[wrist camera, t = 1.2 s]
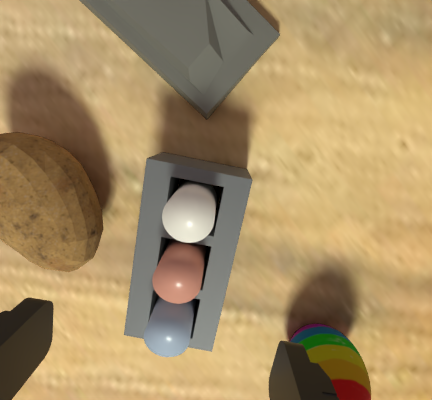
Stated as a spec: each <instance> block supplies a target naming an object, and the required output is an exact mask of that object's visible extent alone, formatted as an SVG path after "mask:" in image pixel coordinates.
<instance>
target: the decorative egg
mask: <svg viewBox="0 0 432 400" xmlns="http://www.w3.org/2000/svg"><path fill="white" fill-rule="evenodd" d="M290 342H293V343H299V344H303V345H304V347H305V349H306V352H307V354H308V357H309V360H310V362H312V363H318V364H319V365H320V367H321V368H322V369H323V370H324V371H325V373H326V374H327V375H328V376H329V377H330V379H331V382H332V384H333V386H334V388H335V391H336V393H337V397H338V398H339V400H371V387H370V381H369V376H368V373H367V370H366V367H365V364H364V362H363V360H362V358H361V356H360V354H359V352H358V351H357V349H356V348H355V346H354V345H353V344H352V343H351V342H350V340H349V339H348V338H347V337H346V336H344V335H343V334H342V333H341V332H339V331H338V330H336V329H334V328H332V327H330V326H327V325H323V324H309V325H306V326H304V327H302V328H300V329H299V330H298V331H297V332H296V333H295V334H294V335H293V337H292V338H291V340H290Z"/></svg>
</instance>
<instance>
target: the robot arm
mask: <svg viewBox="0 0 432 400" xmlns="http://www.w3.org/2000/svg"><path fill="white" fill-rule="evenodd" d="M52 333H53V303H52V302H51V301H47V300H41V299H35V298H26V299H24V300H23V301H22V302H21V303H20V304H18V305H17V306H16V307H15V308H14V309H12V310H11V311H3V312H1V313H0V400H12V398H13V397H14V396H15V395H16V393H17V392H18V391H19V390H20V388H21V387H22V386H23V385H24V383H25V382H26V381H27V379H28V378H29V377H30V376H31V374H32V373H33V372H34V371H35V369H36V368H37V367H38V366H39V364H40V363H41V362H42V360H43V359H44V358H45V356H46V354H47V353H48V351H49V348H50V346H51V342H52ZM269 397H270V400H339V398H338V397H337V393H336V391H335V388H334V386H333V384H332V382H331V379H330V377H329V376H328V375H327V374H326V373H325V371H324V370H323V369H322V368H321V367H320V365H319V364H318V363H312V362H310V360H309V357H308V354H307V352H306V349H305V347H304V345H303V344H299V343H293V342H287V341H280V342H279V345H278V348H277V352H276V355H275V359H274V362H273V366H272V369H271V373H270V377H269Z"/></svg>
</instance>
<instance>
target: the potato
mask: <svg viewBox="0 0 432 400" xmlns="http://www.w3.org/2000/svg"><path fill="white" fill-rule="evenodd" d="M102 231H103V219H102V210H101V207H100V204H99V201H98V198H97V195H96V193H95V191H94V188H93V186H92V184H91V182H90V180H89V178H88V176H87V174H86V172H85V170H84V169H83V167H82V165H81V163H80V162H78V161H77V160H76V159H75V158H74V157H73V156H72V155H71V154H70V153H69V152H68V151H67V150H66V149H64V148H62V147H61V146H59V145H57V144H56V143H54V142H53V141H51V140H48V139H46V138H43V137H40V136H36V135H30V134H25V133H20V132H13V133H4V134H0V239H1V240H2V241H3V242H4V243H6V244H7V245H9V246H10V247H11V248H13V249H14V250H16V251H17V252H19V253H20V254H21V255H22V256H24V257H25V258H26V259H28V260H29V261H30V262H32V263H34V264H36V265H38V266H40V267H42V268H44V269H50V270H57V271H64V272H70V271H73V270H76V269H79V268H80V267H81V266H83V265H84V264H85V263H87V262H88V261H89V260H91V259H92V258H93V257H94V255H95V253H96V250H97V248H98V245H99V242H100V238H101V235H102Z"/></svg>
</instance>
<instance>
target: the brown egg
mask: <svg viewBox="0 0 432 400" xmlns="http://www.w3.org/2000/svg"><path fill="white" fill-rule="evenodd" d="M205 257H206V246H205V245H201V244H195V243H186V242H181V241H178V240H175V239H171V240H170V241H169V243H168V245H167V247H166V249H165V252H164V254H163V256H162V258H161V260H160V262H159V264H158V266H157V268H156V270H155V272H154V274H153V279H152V282H153V287H154V289H155V291H156V293H157V294H158V295H159V296H160V297H161V298H162V299H164V300H166V301H168V302H170V303H176V304H181V303H186V302H189V301H191V300H192V299H194V298H195V297H196V296H197V295H198V293H199V291H200V288H201V283H202V276H203V270H204V263H205Z"/></svg>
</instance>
